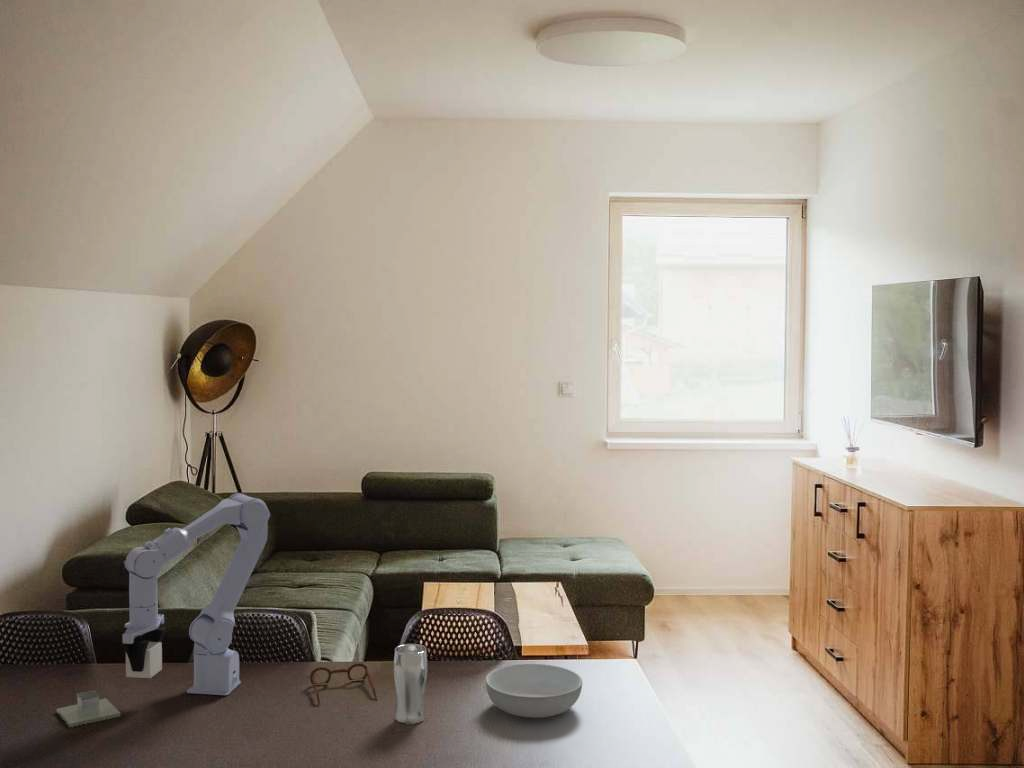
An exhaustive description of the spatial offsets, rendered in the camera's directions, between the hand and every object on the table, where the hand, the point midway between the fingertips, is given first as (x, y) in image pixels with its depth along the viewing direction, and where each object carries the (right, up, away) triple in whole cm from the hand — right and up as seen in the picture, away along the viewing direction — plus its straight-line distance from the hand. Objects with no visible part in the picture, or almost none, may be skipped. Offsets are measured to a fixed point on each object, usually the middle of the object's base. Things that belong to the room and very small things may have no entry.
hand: (144, 666), depth 218 cm
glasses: (+41, -9, +9) cm, 43 cm away
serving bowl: (+84, -10, 0) cm, 84 cm away
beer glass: (+58, -10, -5) cm, 59 cm away
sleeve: (0, -2, 0) cm, 2 cm away
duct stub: (-10, -9, -5) cm, 14 cm away
